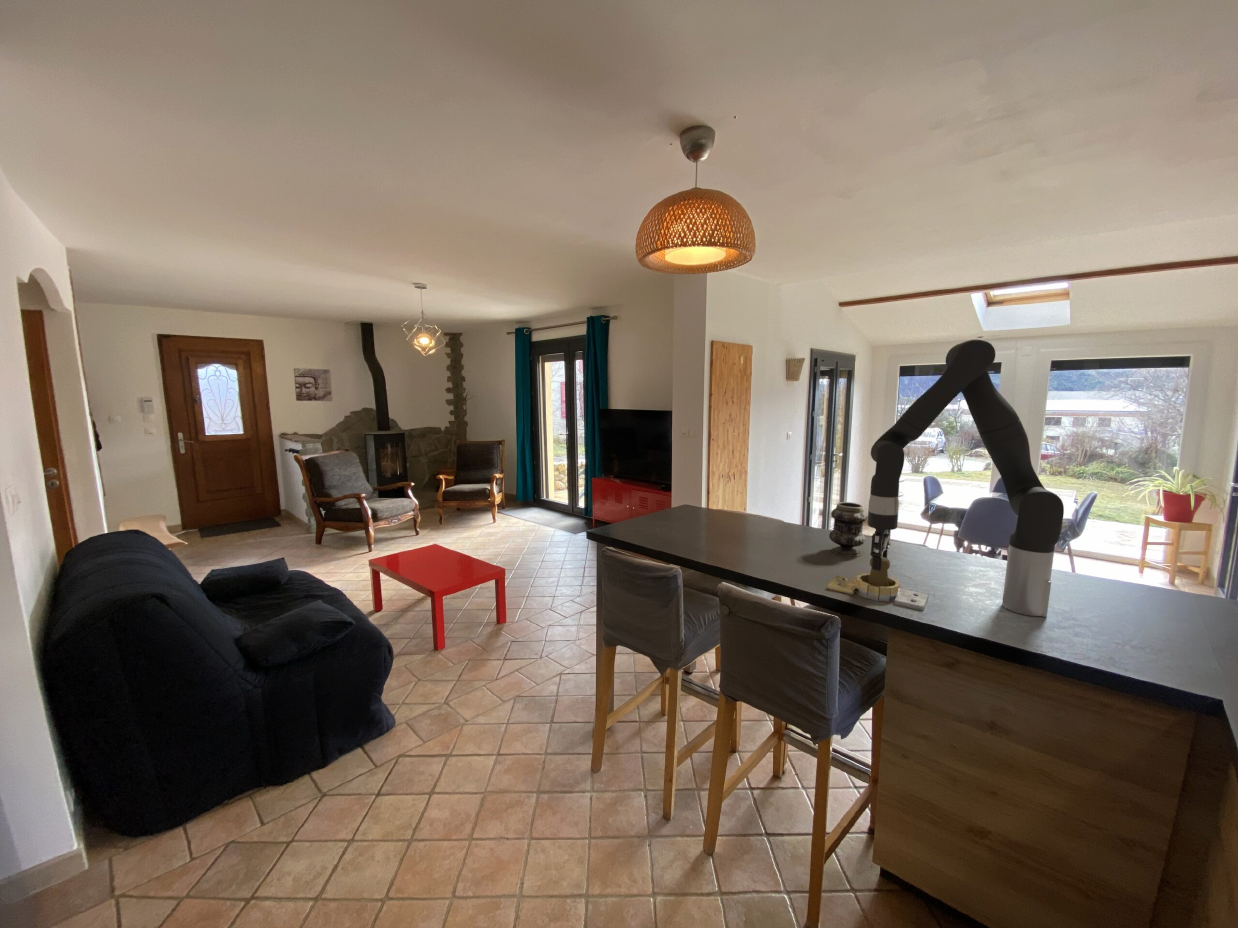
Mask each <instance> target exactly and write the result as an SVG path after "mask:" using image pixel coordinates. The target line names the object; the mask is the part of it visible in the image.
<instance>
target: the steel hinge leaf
mask: <svg viewBox="0 0 1238 928" xmlns="http://www.w3.org/2000/svg"><path fill="white" fill-rule="evenodd" d="M865 582H866V583H868V581H865ZM888 586H890V585H888ZM855 593H857V595H858V596H861V597H863V598H865V599H868V600H872V601H876V602H885V603H886V602H887V603H889V602H894V603H893V604H894V605H897V606H900V607H901V606H902V607H906V608H910V609H914V610H918V611H923V612H924V611H925V608H926V605H927V603H928V601H929V593H928V594H927V593H923V592H919V591H912V590H910V589H909V590H908V589H904V588H900V590H899V592H898V593H897V594H892V595H881V594H875V593H870V592H867V591H864V590H862V589H860V588H858V586H857V585H856V591H855Z"/></svg>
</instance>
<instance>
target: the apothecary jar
mask: <svg viewBox="0 0 1238 928" xmlns="http://www.w3.org/2000/svg"><path fill="white" fill-rule="evenodd" d="M835 507H836V508H834V509H832V511H831V512H830V514H831V517H832V519H834V522H833V528H832V530H831V531H830V532H829V534H828V537H829V539H830V540H831V541H832V542H833V543H834V544H836V545H838V546H835V547H833V548H832V549H831V552H832V553H834V554H836V555H839V556H844V557H860V556H861V555H862V552H861V551H860V550H858V549H857V548H855V547H860V546H863V544H865V542H866V536H865V535H864V534H863V525H864V523H865V522H866V520H868V513H866V512H865V511H864V508H863V507H864V506H863V505H862V504H860V503H856V502H850V501H839V502H838V503H837V504H836V506H835Z"/></svg>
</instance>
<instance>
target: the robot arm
mask: <svg viewBox="0 0 1238 928" xmlns="http://www.w3.org/2000/svg"><path fill="white" fill-rule="evenodd" d="M995 359H996V349H995V347H994V346H993V344H992V343H990V342H989V341H988V340H985V339H979V338H975V339H969V340H966V341H963V342H960V343H958V344H955V345H954V346H952V347H951V348H950V349H949V350H948V352H947V353H946V356H945V366H946V369H945V371H944V372H943V373H942V374H941V376H940V377H939V378H938V379H937V380H936V381H935V382H934V383H933V384H932V385H931V386H930V387H929V388H928V389H927V390H926V391H925V392H924V393H923V394H921V395H920V396H918V398H917V399H916V400H915V401H914V402H913V403H911V405H910V406H909V407H908V408H907V409H906V410H905V411H904V413H902V415H901V416H900V417H899V418H898V419H897V421H896V422H895V423H894V424H893V425H892V426H891V427H890V428H888V430H887V431H885V432H884V433H883V434H882V435H881V436H879V438H878V439H877V440H875V442H874V443H873V445H872V446H871V449H870V456H871V459H872V460H873V461H874V462H875V472H874V474H873V475H872V477H871V481H870V494H869V499H868V509H867V511H868V512H867V525H868V527H869V528H872V529H875V530H874V532H873V533H872V536H871V549H870V553H869V554H870V557H871V558H872V557H873V561H872V567H871V568H872V569H873V570H878V571H880V570H881V564H882V557H885V558H887V559H888V550H889V549H890V545H891V532H892V531H893V530H896V529H898V523H899V522H898V520H899V508H900V502H899V491H900V478H901V476H902V472H903V469H904V464H905V450H904V449H905V448H906V447H907V445H909V444H910V443H911V442H915V441H916V440H918V439H919V438H920V437H921V436H922V435H923V434H924V433H925V431H926V430H927V429H928V428H929V427H930V426H931V425H932V423H934V421H935V420H936V419H937V418H938V417H939V416H940V415H941V413H942V412H943V411H944V410H945V409H946V408H947V406H949V405H950V403H952V401H953V400H955V398H956V397H957V396H958V395H959V394H960V393H961V394H962V395H963V398H964V400H965V402H966V405H967V408H968V410H969V413H970V416H971V418H972V419H973V422H974V424H975V427H976V430H977V432H978V434H979V436H980V439H981V440H982V443H983V445H984V447H985V449H986V451H987V453H988V455H989V457H990V459H991V460H992V462H993V465H994V466H995V468H996V470H997V471H998V473H999V475H1000V478H1001V480H1002V483H1003V486H1004V489H1005V492H1006V495H1007V499H1008V503H1009V506H1010V508H1011V510H1012V511H1013V512H1014V514H1015V515H1016V516H1017V519H1016V526H1015V530H1014V532H1013V533H1011V534H1010V537H1009V541H1008V543H1009V544H1008V552H1007V560H1006V568H1005V578H1004V586H1003V594H1002V606H1003V607H1004V608H1005V609H1006V610H1008V611H1011V612H1012V613H1017V614H1021V615H1025V616H1030V617H1042V618H1047V617H1048V609H1049V604H1050V602H1049V601H1050V595H1051V588H1052V580H1051V578H1052V571H1053V563H1054V554H1055V548H1056V545H1057V543H1058V542H1059V540H1060V537H1061V533H1062V532H1061V531H1062V526H1063V521H1064V513H1065V508H1064V507H1065V506H1064V502H1063V500H1062V499H1061V497H1060V496H1059V495H1057V494H1056V493H1054V492H1052V491H1050V490H1049V489H1046V488H1045V486H1044V485H1043V484H1042V482H1041V480H1040V479H1039V476H1038V475H1037V473H1036V471H1035V469H1034V466H1033V465H1032V460H1031V450H1030V442H1029V441H1030V440H1029V437H1028V435H1027V432H1026V430H1025V428H1024V425H1023V422H1022V421H1021V419H1020V417H1019V414H1018V413H1017V412H1016V410H1015V409H1014V408H1013V406H1012V405H1011V404H1010V403H1009V402H1008V401H1007V399H1006V398H1005V397H1004V396H1003V395H1002V394H1001V393H1000V392H999V391H998V389H997V388H996V386H995V384H994V383H993V381H992V378H991V376H990V374H989V371H988V369H990V367H992V365H993V363H994V362H995ZM876 551H878V552H876Z"/></svg>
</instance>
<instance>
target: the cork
mask: <svg viewBox="0 0 1238 928" xmlns="http://www.w3.org/2000/svg"><path fill="white" fill-rule="evenodd" d="M872 561H873V557H872V556H871V558H870V560H869V566H870V568H871V569H870V572H869V574H870V576H869V581H868V584H871V585H876V586H884V587H889V586H888V577H889V574H888V570H889V568H890V566H891V562H890V559H889V558H888V557H887V558H885V557H882V564H881V570H880V571H878V570H873V569H872Z"/></svg>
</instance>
